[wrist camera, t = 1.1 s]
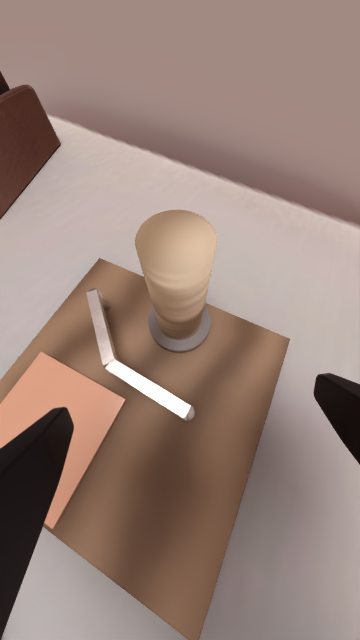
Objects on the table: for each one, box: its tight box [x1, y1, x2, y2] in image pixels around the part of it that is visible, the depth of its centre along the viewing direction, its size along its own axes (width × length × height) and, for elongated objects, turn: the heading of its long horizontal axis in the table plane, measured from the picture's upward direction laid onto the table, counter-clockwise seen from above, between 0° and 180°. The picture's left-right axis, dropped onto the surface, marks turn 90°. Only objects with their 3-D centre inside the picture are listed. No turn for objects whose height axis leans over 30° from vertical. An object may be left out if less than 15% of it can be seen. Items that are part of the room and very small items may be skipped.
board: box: [0, 258, 290, 640], centre depth 20 cm, size 24×23×1 cm
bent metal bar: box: [86, 288, 195, 421], centre depth 19 cm, size 15×4×4 cm, turn 40°
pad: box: [0, 352, 127, 529], centre depth 18 cm, size 10×10×1 cm
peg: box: [135, 210, 217, 353], centre depth 16 cm, size 6×6×12 cm
